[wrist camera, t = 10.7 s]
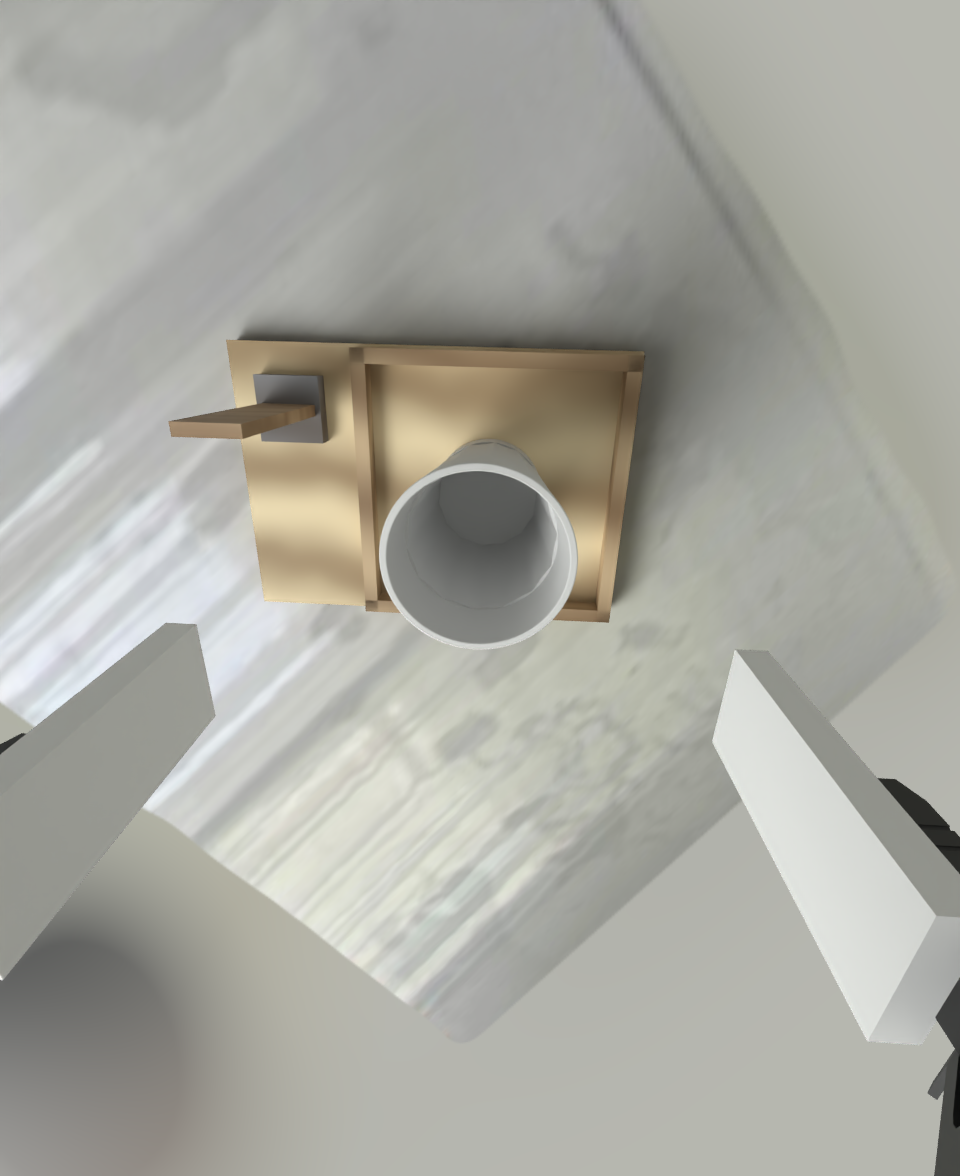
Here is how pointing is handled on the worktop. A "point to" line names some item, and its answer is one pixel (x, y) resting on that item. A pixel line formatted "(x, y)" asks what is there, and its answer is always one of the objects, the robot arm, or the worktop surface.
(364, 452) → the board
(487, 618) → the cup
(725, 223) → the worktop surface
